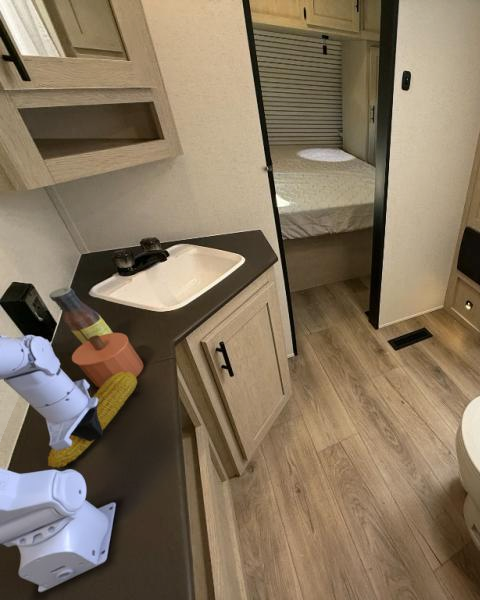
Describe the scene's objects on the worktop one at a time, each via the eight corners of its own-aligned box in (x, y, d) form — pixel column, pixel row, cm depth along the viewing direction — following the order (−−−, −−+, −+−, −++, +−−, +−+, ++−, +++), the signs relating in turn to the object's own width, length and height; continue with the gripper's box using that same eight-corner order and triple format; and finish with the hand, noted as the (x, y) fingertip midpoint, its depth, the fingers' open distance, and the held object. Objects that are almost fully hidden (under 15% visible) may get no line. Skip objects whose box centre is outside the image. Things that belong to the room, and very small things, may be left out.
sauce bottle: (126, 341, 89) (86, 282, 77) (116, 357, 84) (71, 297, 72) (99, 345, 88) (54, 285, 76) (87, 362, 83) (37, 300, 71)
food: (122, 384, 77) (109, 367, 74) (146, 384, 77) (134, 367, 74) (48, 474, 60) (27, 457, 57) (79, 472, 60) (60, 456, 57)
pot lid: (126, 357, 73) (117, 345, 71) (69, 374, 69) (57, 361, 67) (132, 331, 81) (124, 318, 78) (80, 344, 77) (70, 331, 74)
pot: (141, 379, 78) (124, 355, 73) (91, 395, 74) (69, 370, 69) (145, 354, 85) (129, 330, 80) (99, 367, 81) (80, 342, 76)
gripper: (71, 416, 51) (114, 459, 59) (91, 358, 62) (125, 401, 70) (12, 435, 49) (66, 477, 57) (43, 371, 59) (85, 414, 67)
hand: (96, 436), depth 63 cm, fingers closed
